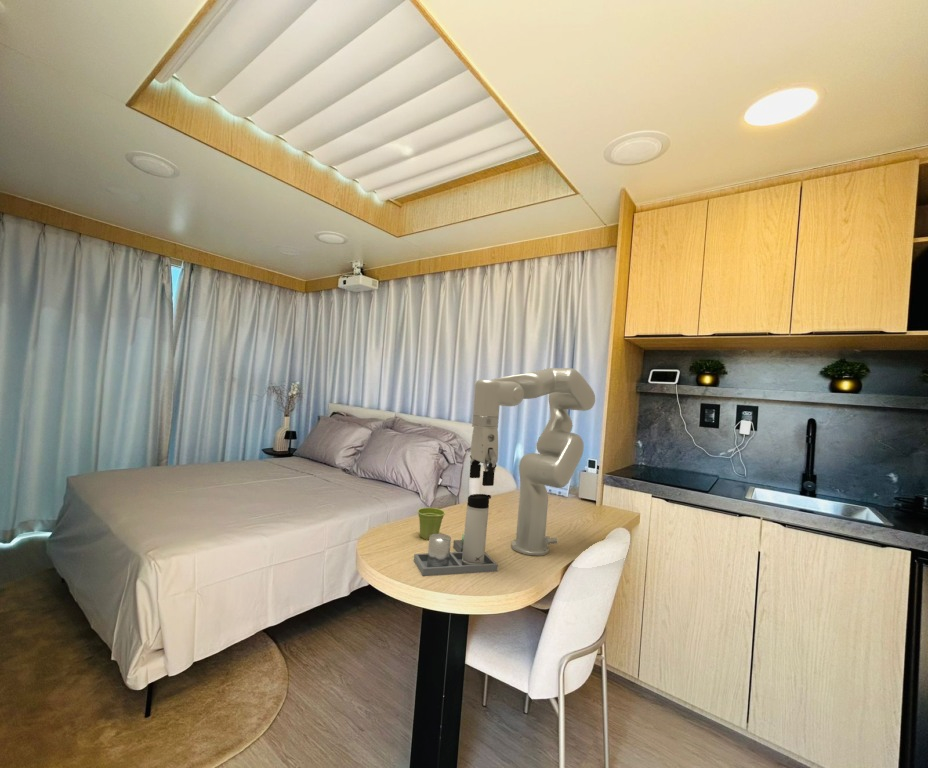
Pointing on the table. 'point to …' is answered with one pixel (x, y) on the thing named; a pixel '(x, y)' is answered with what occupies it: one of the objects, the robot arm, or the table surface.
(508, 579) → the table surface
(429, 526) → the plant pot
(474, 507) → the travel mug
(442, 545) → the steel stub
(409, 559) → the table surface
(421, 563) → the divided tray
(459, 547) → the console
